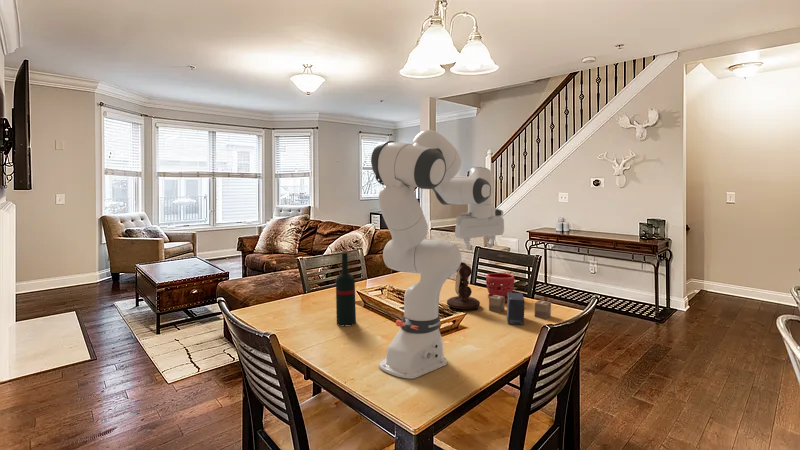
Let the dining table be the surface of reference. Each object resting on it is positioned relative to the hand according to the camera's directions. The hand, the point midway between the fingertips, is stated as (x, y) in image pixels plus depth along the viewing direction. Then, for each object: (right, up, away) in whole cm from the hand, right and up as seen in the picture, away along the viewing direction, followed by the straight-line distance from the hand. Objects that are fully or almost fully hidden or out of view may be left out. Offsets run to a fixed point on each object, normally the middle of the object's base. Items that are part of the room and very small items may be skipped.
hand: (479, 248), depth 155 cm
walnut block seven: (+13, -29, +28) cm, 43 cm away
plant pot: (+18, -27, +45) cm, 55 cm away
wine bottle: (-52, -31, +15) cm, 62 cm away
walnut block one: (+30, -30, +20) cm, 47 cm away
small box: (+17, -31, +15) cm, 38 cm away
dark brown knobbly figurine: (-1, -29, +33) cm, 44 cm away
